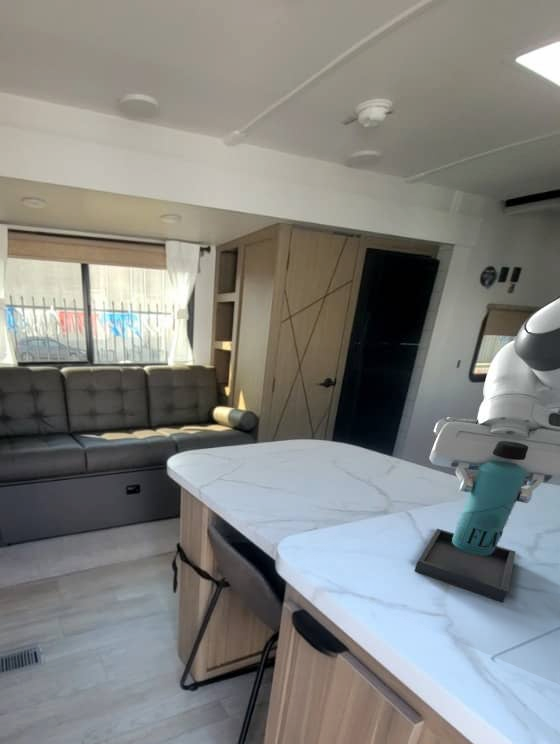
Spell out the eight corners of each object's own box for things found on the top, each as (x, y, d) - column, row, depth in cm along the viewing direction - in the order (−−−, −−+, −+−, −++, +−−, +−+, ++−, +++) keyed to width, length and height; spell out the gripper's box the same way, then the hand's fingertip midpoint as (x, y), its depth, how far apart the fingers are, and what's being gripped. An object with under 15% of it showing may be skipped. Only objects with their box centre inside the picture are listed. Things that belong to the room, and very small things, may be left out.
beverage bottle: (455, 560, 69) (500, 446, 60) (441, 541, 75) (481, 435, 66) (498, 566, 68) (550, 451, 59) (481, 547, 73) (526, 439, 65)
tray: (434, 537, 82) (437, 528, 81) (511, 561, 74) (515, 551, 74) (414, 571, 70) (417, 560, 69) (502, 602, 63) (508, 591, 62)
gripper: (442, 405, 71) (425, 473, 67) (595, 422, 62) (585, 502, 59) (433, 425, 76) (418, 490, 73) (573, 444, 68) (562, 518, 64)
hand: (494, 495), depth 66 cm, fingers closed on beverage bottle, 6 cm apart
